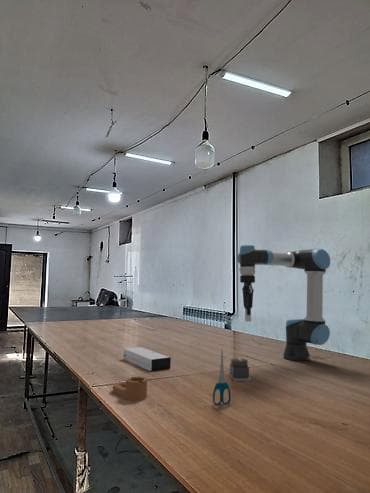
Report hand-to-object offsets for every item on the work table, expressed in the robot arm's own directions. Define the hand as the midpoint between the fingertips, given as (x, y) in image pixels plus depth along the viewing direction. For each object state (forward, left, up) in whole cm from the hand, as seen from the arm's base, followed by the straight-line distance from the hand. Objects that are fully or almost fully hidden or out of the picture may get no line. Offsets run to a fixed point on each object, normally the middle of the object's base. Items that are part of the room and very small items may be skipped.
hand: (248, 321), depth 187 cm
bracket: (+58, +32, -26) cm, 71 cm away
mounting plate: (+7, +10, -25) cm, 28 cm away
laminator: (+52, -21, -26) cm, 62 cm away
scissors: (+23, +47, -26) cm, 58 cm away
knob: (+7, +10, -24) cm, 27 cm away
